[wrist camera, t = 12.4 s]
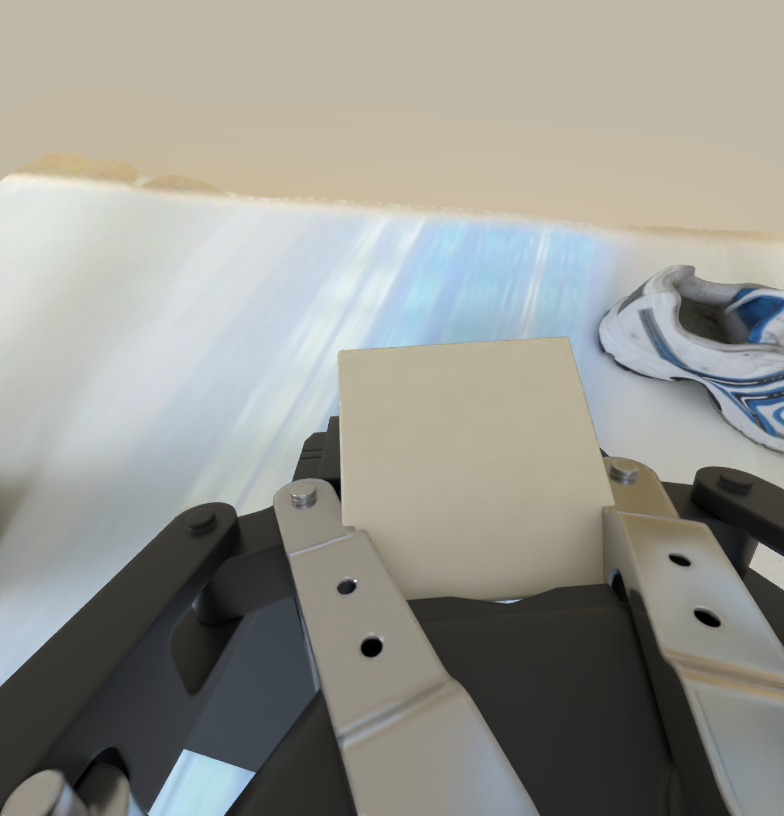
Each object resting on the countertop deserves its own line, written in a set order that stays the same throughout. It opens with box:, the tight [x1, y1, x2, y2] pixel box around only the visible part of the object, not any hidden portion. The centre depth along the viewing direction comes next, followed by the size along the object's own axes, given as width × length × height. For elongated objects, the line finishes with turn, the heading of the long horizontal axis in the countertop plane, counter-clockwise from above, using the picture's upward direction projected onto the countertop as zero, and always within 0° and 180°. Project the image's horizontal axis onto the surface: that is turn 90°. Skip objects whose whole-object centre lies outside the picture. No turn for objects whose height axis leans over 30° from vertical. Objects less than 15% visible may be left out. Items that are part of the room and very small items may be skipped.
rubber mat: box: [175, 517, 316, 773], centre depth 29 cm, size 16×14×1 cm
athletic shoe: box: [598, 265, 784, 453], centre depth 33 cm, size 10×23×12 cm, turn 65°
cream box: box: [338, 337, 615, 602], centre depth 11 cm, size 5×5×8 cm
